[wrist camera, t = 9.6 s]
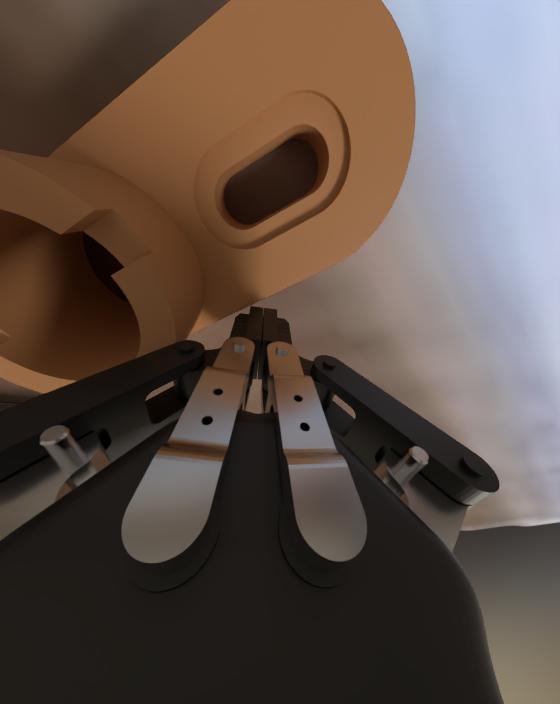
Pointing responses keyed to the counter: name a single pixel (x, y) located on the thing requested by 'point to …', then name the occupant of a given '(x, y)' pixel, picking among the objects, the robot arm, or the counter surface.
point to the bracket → (202, 185)
